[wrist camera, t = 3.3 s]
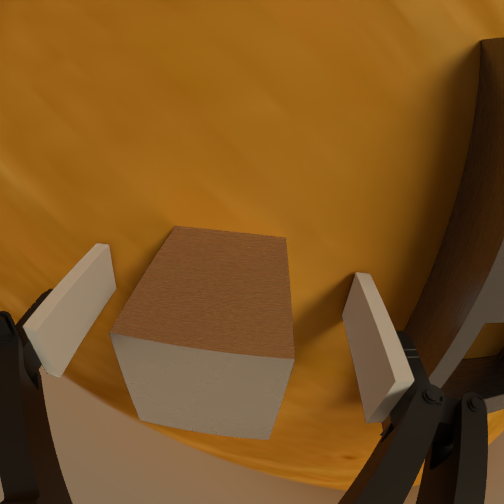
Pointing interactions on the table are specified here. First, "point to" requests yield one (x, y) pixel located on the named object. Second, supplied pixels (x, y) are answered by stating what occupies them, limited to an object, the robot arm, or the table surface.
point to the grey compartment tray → (470, 258)
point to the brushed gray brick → (210, 333)
